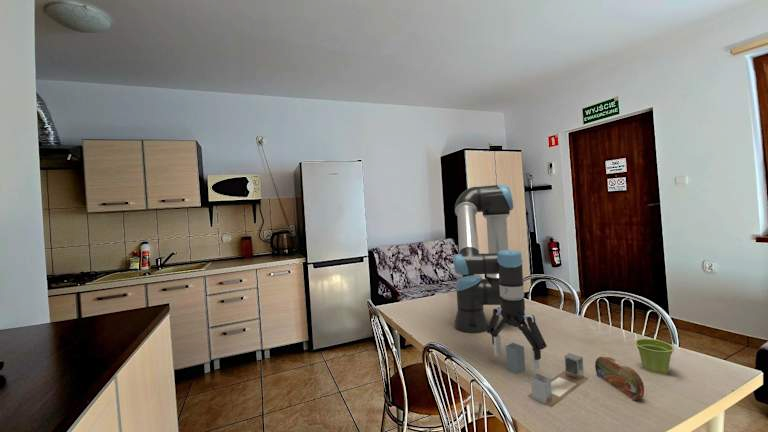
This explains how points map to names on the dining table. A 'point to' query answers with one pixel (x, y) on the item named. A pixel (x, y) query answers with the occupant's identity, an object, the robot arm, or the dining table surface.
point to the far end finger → (574, 366)
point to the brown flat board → (562, 387)
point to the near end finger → (541, 388)
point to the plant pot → (655, 355)
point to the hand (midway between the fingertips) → (515, 361)
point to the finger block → (515, 358)
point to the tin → (620, 377)
